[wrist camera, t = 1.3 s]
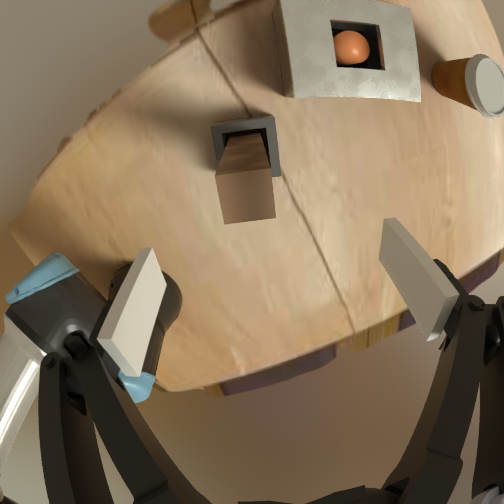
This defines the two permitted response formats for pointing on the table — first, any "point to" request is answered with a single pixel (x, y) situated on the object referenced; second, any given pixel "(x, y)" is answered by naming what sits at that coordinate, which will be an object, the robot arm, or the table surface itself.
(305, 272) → the table surface
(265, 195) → the brown wooden bar
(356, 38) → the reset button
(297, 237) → the table surface
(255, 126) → the gray square socket
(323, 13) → the box
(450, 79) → the disposable coffee cup
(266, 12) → the table surface
